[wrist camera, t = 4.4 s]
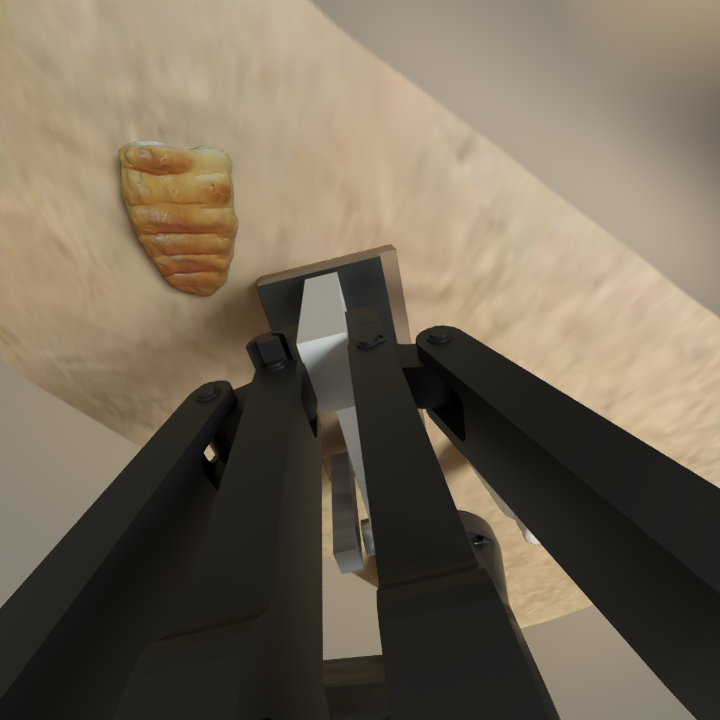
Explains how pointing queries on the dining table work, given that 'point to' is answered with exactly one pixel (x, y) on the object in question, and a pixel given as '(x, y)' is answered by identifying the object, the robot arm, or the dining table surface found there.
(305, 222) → the dining table surface
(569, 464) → the robot arm
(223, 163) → the pastry
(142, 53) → the dining table surface
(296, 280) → the lever
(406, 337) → the nutcracker base
